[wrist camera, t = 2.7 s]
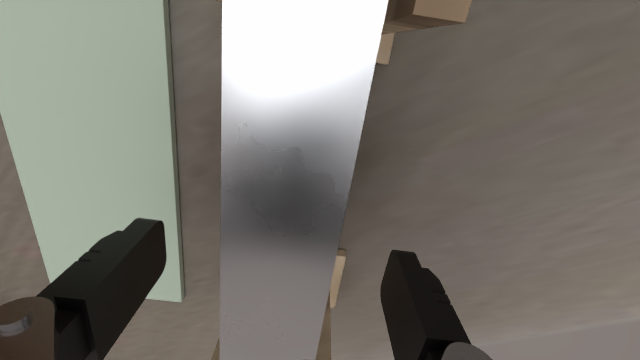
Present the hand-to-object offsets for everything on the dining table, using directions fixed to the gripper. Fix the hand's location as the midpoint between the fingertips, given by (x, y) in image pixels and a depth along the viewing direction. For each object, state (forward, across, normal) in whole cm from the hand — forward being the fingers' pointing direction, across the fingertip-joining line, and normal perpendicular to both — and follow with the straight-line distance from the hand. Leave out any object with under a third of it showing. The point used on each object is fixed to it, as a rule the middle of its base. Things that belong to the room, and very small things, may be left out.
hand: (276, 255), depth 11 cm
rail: (+1, 0, 0) cm, 1 cm away
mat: (+10, +13, 0) cm, 16 cm away
